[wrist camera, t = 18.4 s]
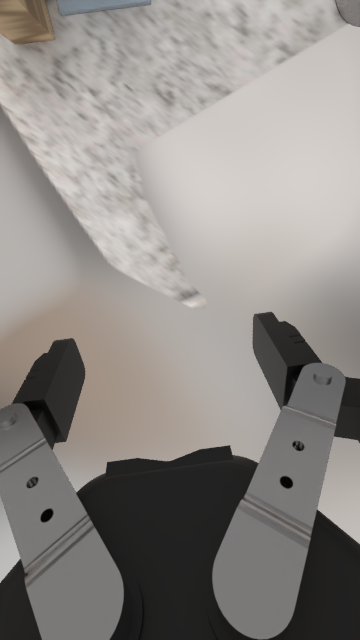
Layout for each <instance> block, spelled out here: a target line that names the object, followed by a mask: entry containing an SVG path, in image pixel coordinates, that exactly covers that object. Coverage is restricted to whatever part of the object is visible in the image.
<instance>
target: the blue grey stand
mask: <svg viewBox="0 0 360 640" xmlns="http://www.w3.org/2000/svg"><path fill="white" fill-rule="evenodd" d="M57 4H58V8H59V12H60V14H61V15H62V16H64V15H72V14H79V13H87V12H95V11H103V10H111V9H118V8H126V7H134V6H142V5H149V4H151V0H57Z"/></svg>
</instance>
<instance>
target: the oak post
mask: <svg viewBox="0 0 360 640" xmlns="http://www.w3.org/2000/svg"><path fill="white" fill-rule="evenodd" d="M0 34H2V35H3V36H5V37H6V38H7V39H9V40H10V41H12V42H13V43H14V44H24V43H32V42H39V41H47V40H55V37H54V33H53V29H52V25H51V21H50V17H49V13H48V9H47V5H46V1H45V0H0Z"/></svg>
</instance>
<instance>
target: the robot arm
mask: <svg viewBox="0 0 360 640" xmlns="http://www.w3.org/2000/svg"><path fill="white" fill-rule="evenodd" d="M336 3H337V6H338V10H339V12H340V14H341V15H342V17H343V18H344V19H345V20H346V21H347V22H348V23H349V24H351V25H353V26H358V27H360V0H336ZM253 349H254V354H255V356H256V359H257V361H258V363H259V365H260V367H261V369H262V371H263V373H264V375H265V378H266V379H267V382H268V384H269V386H270V388H271V390H272V393H273V394H274V397H275V399H276V401H277V403H278V405H279V407H280V409H281V412H280V414H279V417H278V419H277V421H276V424H275V426H274V429H273V431H272V433H271V435H270V438H269V440H268V443H267V445H266V447H265V450H264V452H263V454H262V457H261V460H260V461H259V463H257V462H254V461H253V460H250V459H248V458H244V457H240V456H235V455H232V452H231V448H230V446H222V447H215V448H208V449H200V450H198V451H195V452H193V453H191V454H187V455H185V456H183V457H180V458H177V459H175V460H172V461H157V460H149V459H140V458H136V459H128V460H120V461H113V462H107V468H106V473H105V474H102V475H100V476H98V477H96V478H95V479H93V480H91V481H90V482H88V483H87V484H86V485H85V486H83V487H82V488H81V489H80V490H79V491H78V492H77V493H76V491H75V490H74V488H73V486H72V484H71V483H70V481H69V479H68V477H67V476H66V474H65V472H64V470H63V468H62V467H61V465H60V463H59V461H58V460H57V458H56V456H55V454H54V452H53V451H52V450H53V447H54V444H55V443H59V442H66V440H67V437H68V433H69V430H70V427H71V423H72V420H73V417H74V413H75V410H76V406H77V403H78V400H79V396H80V393H81V390H82V386H83V383H84V379H85V368H84V364H83V361H82V359H81V356H80V353H79V350H78V348H77V345H76V342H75V341H74V339H72V338H70V339H64V340H56V341H54V342H53V344H52V346H51V348H50V350H49V352H48V353H44V354H43V355H42V356H40V357H39V358H38V359H37V360H36V361H35V362H34V364H33V366H32V368H31V370H30V372H29V373H28V375H27V377H26V380H24V383H23V384H22V386H21V388H20V390H19V391H18V393H17V395H16V397H15V399H14V401H13V403H12V404H11V405H8V406H6V407H4V408H1V409H0V495H1V498H2V502H3V505H4V508H5V510H6V514H7V517H8V520H9V523H10V526H11V530H12V532H13V535H14V539H15V542H16V545H17V548H18V551H19V554H20V557H21V559H20V560H19V561H18V562H17V564H16V565H15V566H14V567H13V569H12V570H11V571H10V572H9V573H8V574H7V576H6V577H5V578H4V579H3V580H2V581H1V583H0V640H360V544H359V543H357V542H356V541H355V540H354V539H353V538H351V537H350V536H349V535H348V534H347V533H345V532H344V531H343V530H341V529H340V528H339V527H338V526H337V525H336V524H334V523H333V522H332V521H331V520H329V519H328V518H327V517H326V516H325V515H323V514H322V513H321V512H320V511H318V510H317V507H318V502H319V498H320V494H321V489H322V485H323V480H324V476H325V472H326V467H327V463H328V459H329V454H330V450H331V446H332V441H333V437H334V436H335V437H341V438H349V439H355V440H358V441H359V443H360V379H357V378H348V377H345V376H344V375H343V374H342V372H341V371H340V370H338V369H337V368H335V367H333V366H331V365H328V364H324V363H322V362H321V360H320V359H319V358H318V357H317V355H316V354H315V353H314V351H313V350H312V349H311V347H310V346H309V345H308V344H307V342H305V339H304V338H303V337H302V336H301V334H300V333H299V332H298V330H297V329H296V328H295V327H294V326H292V325H291V324H289V323H287V322H286V321H284V322H279V321H278V320H277V318H276V317H275V315H274V314H273V313H272V312H267V313H259V314H254V317H253Z"/></svg>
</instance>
